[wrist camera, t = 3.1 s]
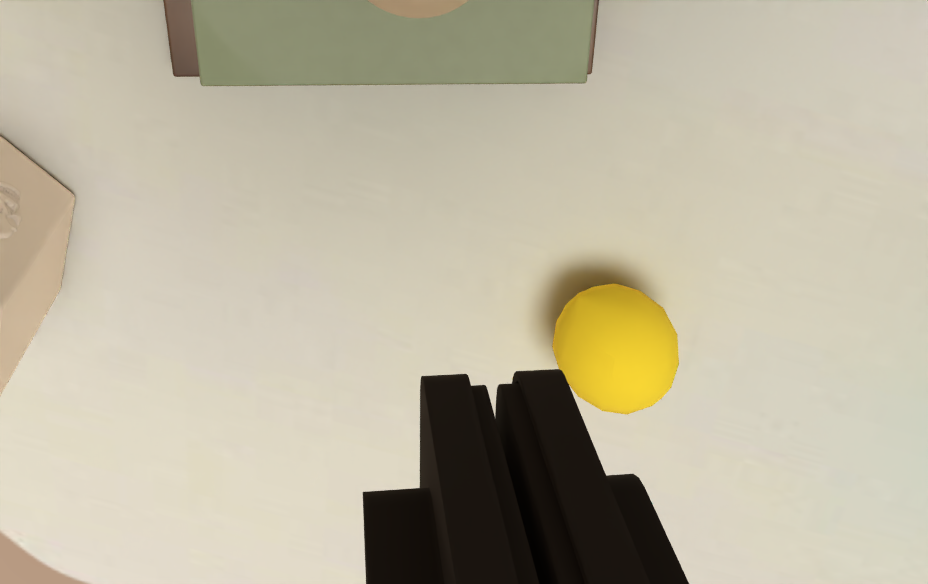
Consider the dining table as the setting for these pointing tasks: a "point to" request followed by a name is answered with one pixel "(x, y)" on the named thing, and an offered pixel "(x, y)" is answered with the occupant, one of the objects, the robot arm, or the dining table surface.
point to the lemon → (616, 348)
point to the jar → (28, 251)
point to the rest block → (390, 43)
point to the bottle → (418, 7)
